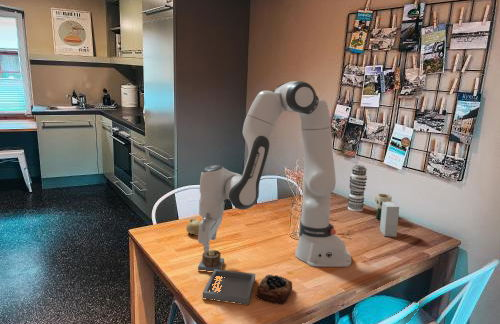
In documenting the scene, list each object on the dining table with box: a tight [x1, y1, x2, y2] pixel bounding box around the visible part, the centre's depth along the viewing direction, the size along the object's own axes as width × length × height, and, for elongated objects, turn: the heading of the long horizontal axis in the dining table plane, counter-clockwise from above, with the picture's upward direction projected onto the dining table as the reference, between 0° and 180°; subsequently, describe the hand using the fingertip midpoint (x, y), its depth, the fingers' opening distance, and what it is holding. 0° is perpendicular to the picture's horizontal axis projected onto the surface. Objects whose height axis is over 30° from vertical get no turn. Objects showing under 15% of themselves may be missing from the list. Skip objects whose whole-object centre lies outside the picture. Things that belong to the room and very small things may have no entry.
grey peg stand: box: [197, 248, 225, 271], centre depth 135 cm, size 8×8×7 cm
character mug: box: [374, 193, 393, 221], centre depth 190 cm, size 11×7×13 cm, turn 31°
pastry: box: [255, 274, 293, 305], centre depth 120 cm, size 11×12×6 cm
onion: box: [186, 218, 202, 235], centre depth 165 cm, size 8×8×7 cm
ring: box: [201, 249, 221, 267], centre depth 135 cm, size 6×6×4 cm
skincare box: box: [379, 201, 400, 238], centre depth 171 cm, size 8×6×15 cm
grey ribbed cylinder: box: [347, 164, 368, 212], centre depth 203 cm, size 9×9×25 cm
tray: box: [202, 269, 256, 305], centre depth 122 cm, size 15×15×2 cm
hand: (210, 244), depth 134 cm, fingers open, 8 cm apart
